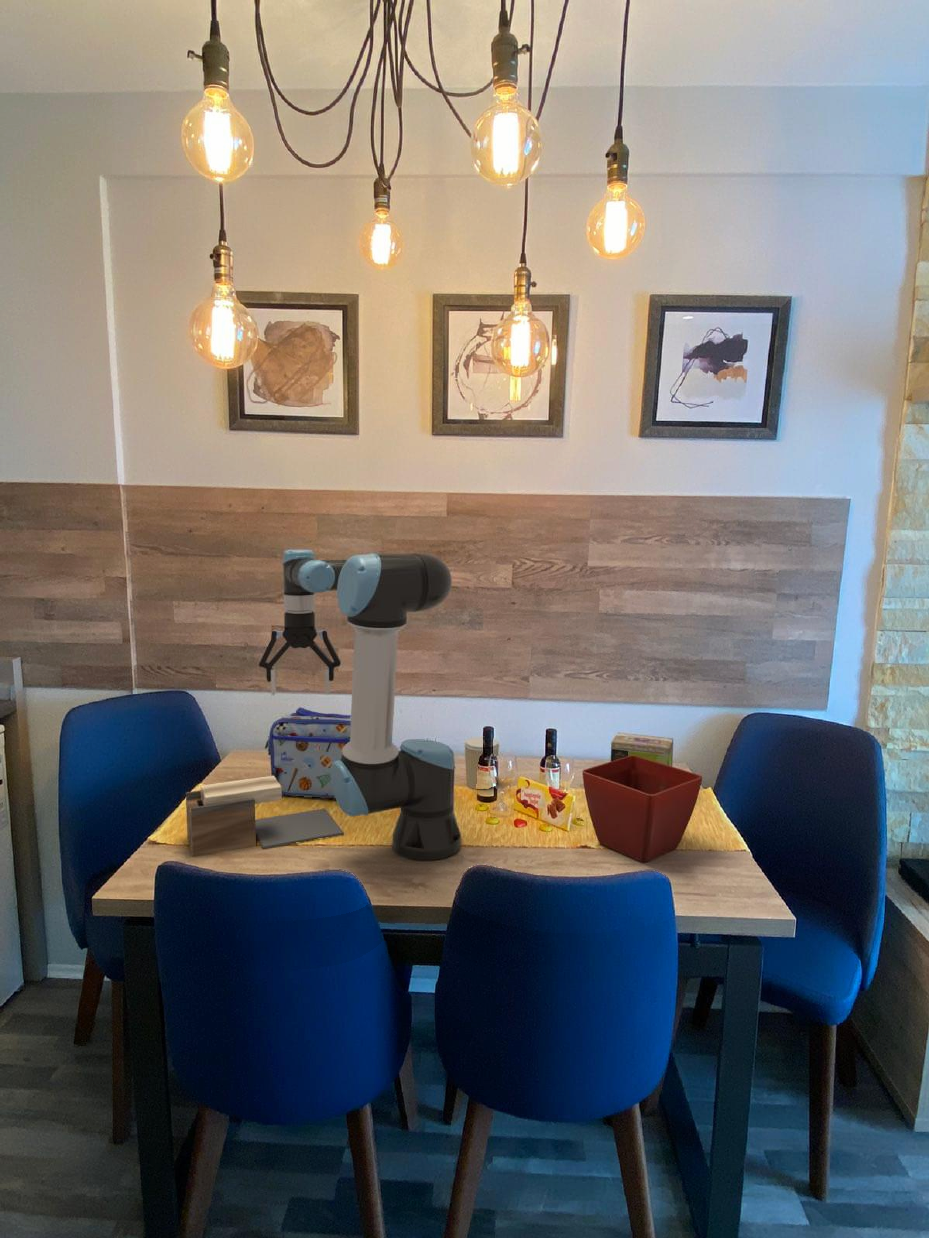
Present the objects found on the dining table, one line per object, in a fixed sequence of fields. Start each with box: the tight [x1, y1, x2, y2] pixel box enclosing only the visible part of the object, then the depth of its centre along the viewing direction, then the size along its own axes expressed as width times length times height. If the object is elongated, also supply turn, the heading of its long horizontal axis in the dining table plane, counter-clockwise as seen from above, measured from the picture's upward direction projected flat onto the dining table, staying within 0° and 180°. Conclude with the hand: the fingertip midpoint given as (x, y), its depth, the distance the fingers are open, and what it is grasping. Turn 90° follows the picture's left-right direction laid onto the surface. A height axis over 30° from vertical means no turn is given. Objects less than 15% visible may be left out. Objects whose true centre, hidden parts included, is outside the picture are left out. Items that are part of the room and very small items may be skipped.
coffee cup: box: [463, 736, 500, 790], centre depth 202 cm, size 9×9×12 cm
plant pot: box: [582, 755, 703, 863], centre depth 167 cm, size 19×19×17 cm
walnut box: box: [185, 789, 257, 857], centre depth 165 cm, size 10×13×10 cm
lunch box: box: [264, 707, 351, 799], centre depth 193 cm, size 28×10×22 cm, turn 84°
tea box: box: [610, 732, 674, 767], centre depth 198 cm, size 15×10×15 cm, turn 69°
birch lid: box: [200, 775, 283, 806], centre depth 166 cm, size 8×16×3 cm, turn 116°
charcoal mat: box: [255, 808, 345, 850], centre depth 173 cm, size 15×18×1 cm
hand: (300, 693), depth 193 cm, fingers open, 13 cm apart
